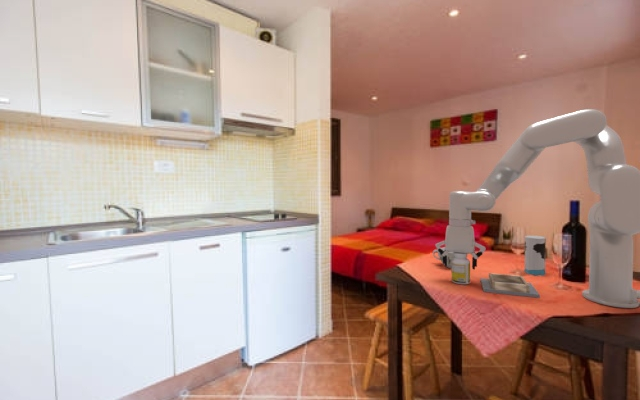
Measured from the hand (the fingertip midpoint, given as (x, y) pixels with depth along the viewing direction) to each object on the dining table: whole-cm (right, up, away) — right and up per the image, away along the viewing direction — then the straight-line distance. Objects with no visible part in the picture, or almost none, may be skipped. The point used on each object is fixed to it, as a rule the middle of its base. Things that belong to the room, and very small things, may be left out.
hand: (459, 267), depth 110 cm
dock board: (+13, -6, -8) cm, 17 cm away
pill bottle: (+1, -6, 0) cm, 6 cm away
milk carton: (+35, -4, +7) cm, 36 cm away
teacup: (+6, -5, +21) cm, 22 cm away
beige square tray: (+13, -6, -8) cm, 17 cm away
